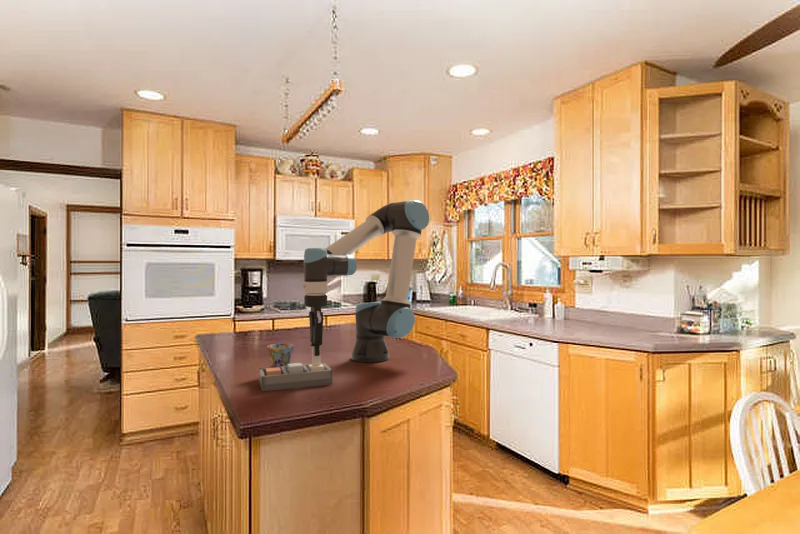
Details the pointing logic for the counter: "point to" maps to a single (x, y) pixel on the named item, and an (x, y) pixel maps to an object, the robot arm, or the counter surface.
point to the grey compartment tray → (294, 378)
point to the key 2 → (316, 367)
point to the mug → (280, 354)
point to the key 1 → (273, 371)
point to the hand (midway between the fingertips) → (316, 364)
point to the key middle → (295, 368)
